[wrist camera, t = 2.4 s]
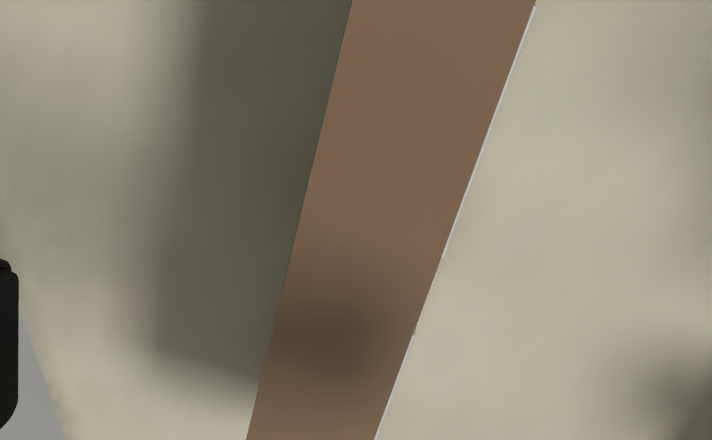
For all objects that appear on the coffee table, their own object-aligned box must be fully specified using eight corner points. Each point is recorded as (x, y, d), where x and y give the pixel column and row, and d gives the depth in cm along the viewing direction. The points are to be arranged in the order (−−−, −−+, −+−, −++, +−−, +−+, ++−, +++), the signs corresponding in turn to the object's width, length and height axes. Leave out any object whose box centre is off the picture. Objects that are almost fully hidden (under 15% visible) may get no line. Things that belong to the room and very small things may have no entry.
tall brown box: (407, -104, 14) (372, -112, 10) (543, -65, 14) (563, -57, 10) (280, 382, 20) (227, 498, 16) (371, 413, 20) (342, 537, 16)
